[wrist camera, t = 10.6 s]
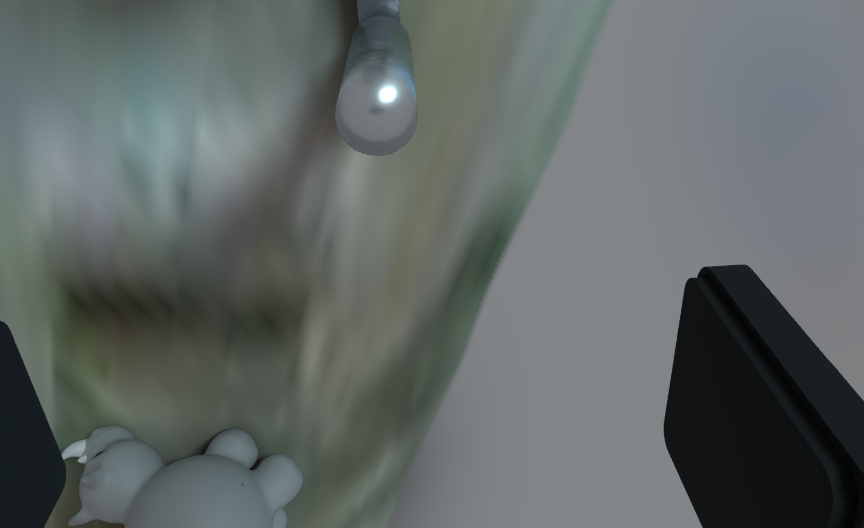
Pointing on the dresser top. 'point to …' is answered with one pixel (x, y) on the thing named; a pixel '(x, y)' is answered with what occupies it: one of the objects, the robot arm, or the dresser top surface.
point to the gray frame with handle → (378, 83)
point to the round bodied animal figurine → (182, 483)
